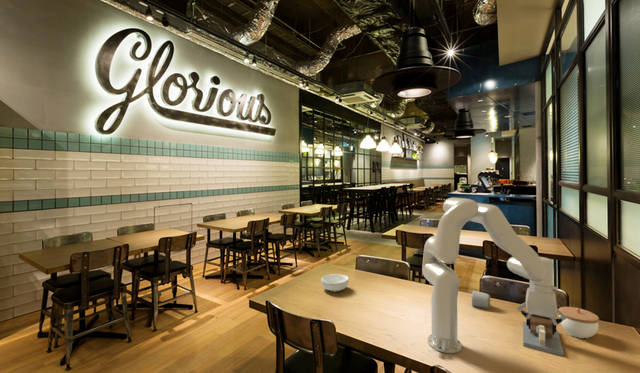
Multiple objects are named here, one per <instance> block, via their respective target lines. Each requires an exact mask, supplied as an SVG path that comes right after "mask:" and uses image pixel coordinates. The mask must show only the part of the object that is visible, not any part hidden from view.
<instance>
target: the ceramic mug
mask: <svg viewBox="0 0 640 373" xmlns="http://www.w3.org/2000/svg"><path fill="white" fill-rule="evenodd" d="M471 294H472V296H471V297H472V298H471V306H472V307H476V308H477V307H478V308H484V309H490V307H491V306H490V305H491V295H490V294H488V293H487V292H481V291H477V290H472V293H471Z"/></svg>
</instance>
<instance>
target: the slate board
mask: <svg viewBox="0 0 640 373" xmlns="http://www.w3.org/2000/svg"><path fill="white" fill-rule="evenodd" d="M544 329H545V347H544V346H540V342H539V334H538V326H536V334H533V333H531V332H530V329H529V327H528V326H527V325H526V321H522V337H523V338H522V339H523V342H522V343H523V347H524V348H530V349H533V350H537V351H541V352H545V353H548V354H552V355H556V356H559V357H564V351H563V347H562V341H561V338H560V334H559V330H558V328H556V332H554V335H553V334H552V338H550V337H546V328H544Z"/></svg>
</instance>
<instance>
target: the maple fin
mask: <svg viewBox="0 0 640 373" xmlns="http://www.w3.org/2000/svg"><path fill="white" fill-rule="evenodd" d="M538 334H539V342H540V346H544V347H545V329H544V326H542V325H539V326H538Z"/></svg>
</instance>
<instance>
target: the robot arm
mask: <svg viewBox="0 0 640 373" xmlns="http://www.w3.org/2000/svg"><path fill="white" fill-rule="evenodd" d="M442 210H443V212H444V213H443V215H442V216H441V218H440V219H439V221H438V225H437V230H436V235H432V236H430V237H429V238H428V239H427V240H426V241H425V244H424V247H423V253H422V255H423V257H422V266H421V267H422V268H421V269H422V270H421V271H422V275H423V277H424V278H425V280H427V281H428V283H430V284H432V286H433V290H432V293H431V301H430V303H431V334H430V335H429V336H428V337H427V343H428V345H429V346H430V347H431V348H432V349H433V350H435V351H438V352H440V353H441V352H442V353H443V354H444V353H445V354H457V353H459V352H461V351H462V349H463V345H462V342H461V341H460V340H459V339H458V295H459V290H460V283H461V282H460V278H459V276H458V273H457V272H456V271H455V270H454V269H453V268H451V267H449V266H447V265H451V264H454V263H456V261H457V259H458V257H459V251H460V239H461V238H460V237H461V232H462V229H463V227H464V226H465V224H467V222H473V223H478V224H481V225H482V226H483V228H484V229H485V231H486V232H487V233H488V235H489V236H490V238H491V239H492V241H493V243H494V244H495V245H496V246H497V247H498V248H500V249H501V250H503V251H504V252H506V253H508V254H509V255H511V257H510V258H508V260H506V261H507V262H506V266H507V268H508V270H509V271H510V272H512V273H513V274H515V275H518V276H520V277H523V278H524V279H527V280H529V287H527V290H526V293H525V302H523V303H521V304H519V305H517V307H516V308H517V309H518V310H519V312H520V313H521V315H522V316H523V317H525V319H526V321H525V322H526V325H527V326H528V327H529V329H531V325H530V316H532V314H533V315H538V316H543V317H548V318H550V319H551V320H552V334H553V335H554V332H556V329H557V326H558V325H559V324H561V322H562V321H563V320H565V319H566V318H567V317H566V315H565V314H563V313H562V312H561V311H560V310H559V308H558V303H557V296H556V293H555V292H554V291H558V287H557V286H554V285H553V284H554V282H553V281H554V279H553V276H554V271H553V270H554V267H553V266H554V265H553V264H554V263H553V261H552V259H550V258H548V257H544V256H539V254H538V253H537V252H536V251H535V250H534V248H532V247H531V246H530V245H529V244H528V243H527V242H526V241H525V240H524V239H522V238H521V237H520V236H518V235H517V233H516V231H515V230H514V229H513V227H512V226H511V224H510V222H509V221H508V219H507V217H505V215H504V213H503V212H502V210H501V209H500V208H499V207H498V206H496V205H494V204H491V203H489V204H488V203H480V202H477V201H476V200H474V199H471V198H464V197H453V196H452V197H449V198H447V199H445V201H444V202H443V204H442ZM446 264H447V265H446ZM524 308H525V310H524ZM559 315H560V317H559ZM557 316H558V317H557Z"/></svg>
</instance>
